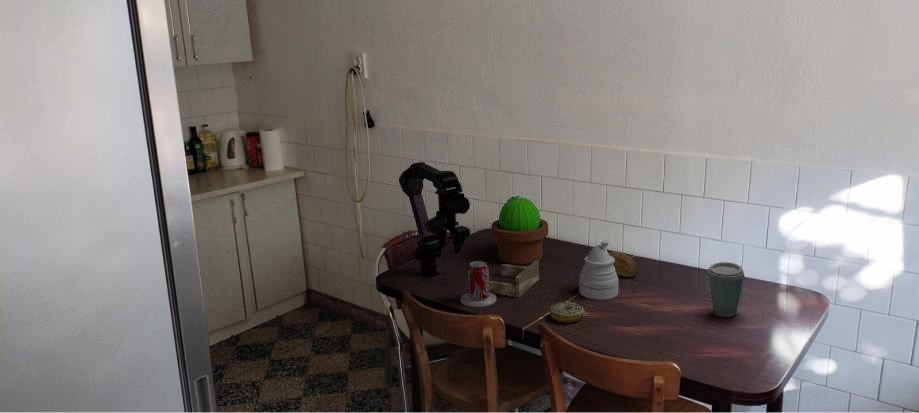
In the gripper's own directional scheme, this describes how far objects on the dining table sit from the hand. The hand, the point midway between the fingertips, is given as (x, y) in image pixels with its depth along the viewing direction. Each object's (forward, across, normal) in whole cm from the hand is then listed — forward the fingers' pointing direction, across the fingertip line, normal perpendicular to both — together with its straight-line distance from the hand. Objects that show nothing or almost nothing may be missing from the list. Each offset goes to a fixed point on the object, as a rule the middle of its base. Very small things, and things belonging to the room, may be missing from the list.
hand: (449, 251), depth 243 cm
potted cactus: (+13, -7, +38) cm, 40 cm away
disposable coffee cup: (+13, +75, +50) cm, 91 cm away
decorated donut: (+14, +46, +12) cm, 50 cm away
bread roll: (+13, +30, +52) cm, 61 cm away
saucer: (+13, +17, 0) cm, 21 cm away
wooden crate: (+13, +14, +16) cm, 25 cm away
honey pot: (+13, +38, +34) cm, 53 cm away
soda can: (+12, +17, 0) cm, 21 cm away
